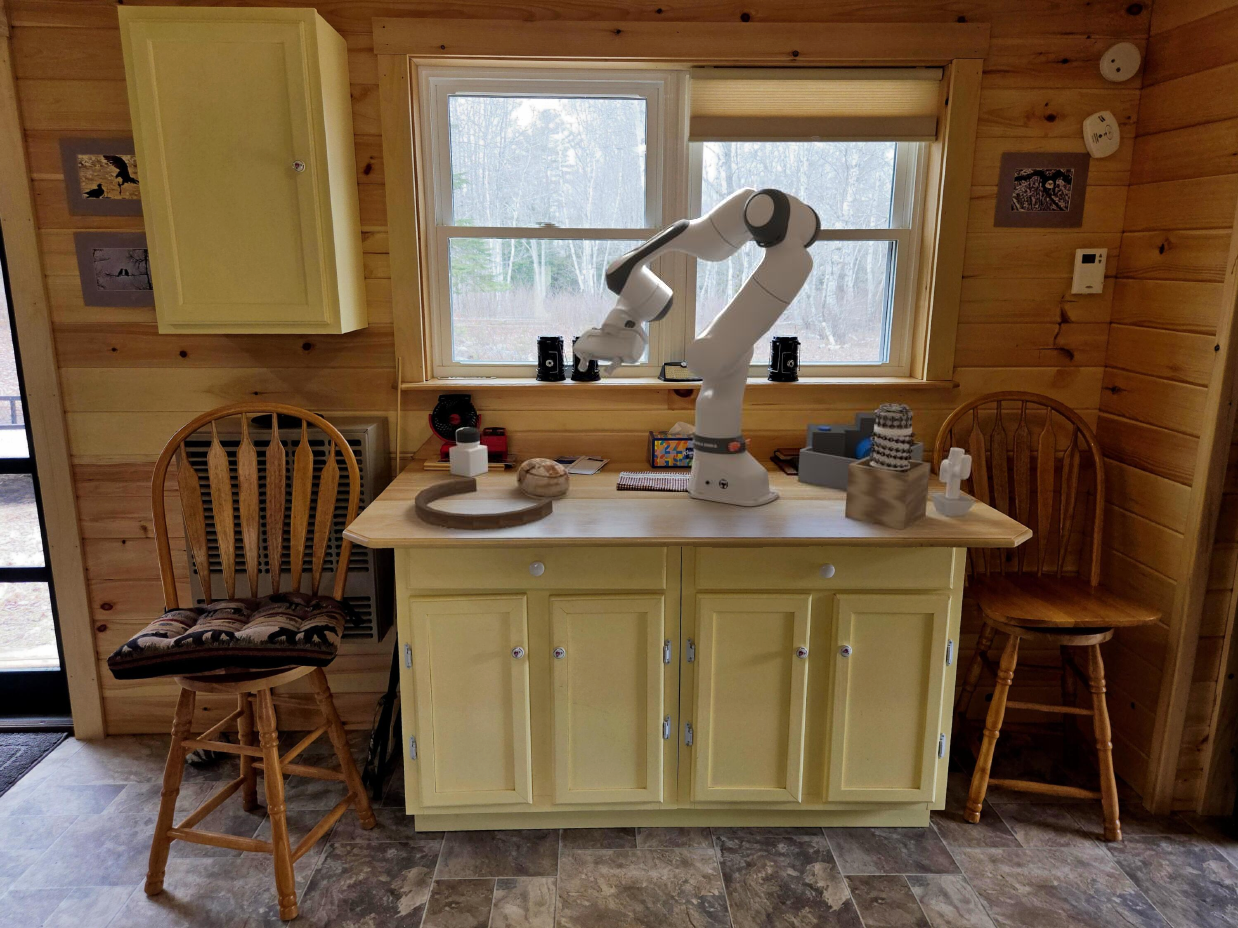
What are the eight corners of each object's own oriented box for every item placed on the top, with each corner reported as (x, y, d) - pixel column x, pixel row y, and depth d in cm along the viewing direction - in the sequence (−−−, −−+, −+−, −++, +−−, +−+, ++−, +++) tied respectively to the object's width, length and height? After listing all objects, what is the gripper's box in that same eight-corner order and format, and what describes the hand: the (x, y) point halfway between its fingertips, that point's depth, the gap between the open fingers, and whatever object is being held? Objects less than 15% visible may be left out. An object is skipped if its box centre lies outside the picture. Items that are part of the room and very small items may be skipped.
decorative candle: (902, 525, 176) (913, 410, 170) (859, 518, 181) (868, 406, 175) (910, 513, 184) (921, 404, 178) (868, 507, 189) (877, 400, 182)
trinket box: (531, 481, 210) (531, 451, 208) (583, 488, 203) (583, 458, 201) (502, 494, 198) (501, 463, 196) (556, 503, 191) (555, 470, 190)
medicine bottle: (488, 471, 218) (487, 427, 215) (470, 477, 212) (468, 432, 209) (468, 468, 222) (466, 424, 219) (449, 473, 216) (447, 429, 213)
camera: (812, 483, 210) (816, 423, 206) (804, 467, 225) (808, 411, 221) (912, 486, 207) (918, 425, 203) (898, 470, 223) (903, 413, 219)
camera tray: (922, 472, 219) (925, 443, 217) (874, 496, 197) (876, 464, 195) (848, 459, 233) (851, 431, 231) (796, 480, 211) (798, 450, 209)
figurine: (954, 506, 190) (961, 443, 186) (976, 518, 181) (984, 452, 177) (924, 507, 189) (931, 443, 185) (945, 520, 180) (953, 453, 176)
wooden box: (925, 515, 183) (930, 463, 180) (901, 529, 174) (907, 474, 171) (870, 503, 191) (874, 453, 188) (844, 516, 182) (848, 464, 179)
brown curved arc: (558, 513, 183) (558, 500, 183) (475, 540, 166) (475, 526, 165) (469, 488, 203) (469, 476, 202) (387, 509, 186) (386, 496, 185)
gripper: (583, 319, 216) (558, 360, 211) (644, 324, 203) (618, 367, 199) (594, 335, 221) (570, 375, 216) (655, 340, 208) (630, 383, 203)
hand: (593, 371), depth 207 cm, fingers open, 7 cm apart
